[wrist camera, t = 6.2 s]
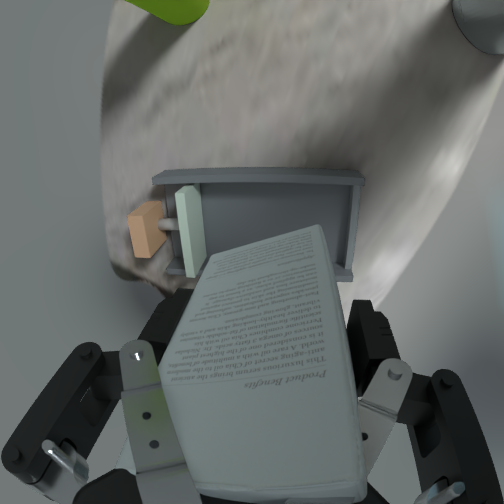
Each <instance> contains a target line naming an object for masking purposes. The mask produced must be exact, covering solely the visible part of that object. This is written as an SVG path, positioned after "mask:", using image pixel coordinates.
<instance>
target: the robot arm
mask: <svg viewBox="0 0 504 504" xmlns="http://www.w3.org/2000/svg"><path fill="white" fill-rule="evenodd" d="M452 7H453V13H454V17H455V19H456V22H457V24H458V26H459V28H460V29H461V31H462V32H463V34H464V35H465V37H466V38H467V39H468V40H469V41H470V42H471V43H472V44H473V45H474V46H475V47H477V48H478V49H479V50H481V51H483V52H485V53H487V54H491V55H497V54H504V0H453V2H452ZM193 291H194V289H184V288H178V289H177V290H176V292H175V294H174V296H173V297H172V298H166V299H164V300H163V301H162V302H161V303H159V304H158V306H157V307H156V309H155V311H154V313H153V314H152V316H151V318H150V319H149V320H148V322H147V324H146V326H145V327H144V329H143V330H142V332H141V334H140V336H139V337H138V339H137V340H133V341H130V342H128V343H126V344H125V345H124V346H122V348H121V349H120V351H109V352H102V350H101V348H100V346H99V345H98V344H96V343H93V342H86V343H83V344H80V345H79V346H77V347H76V348H75V349H74V350H73V351H72V353H71V354H70V355H69V356H68V358H67V359H66V360H65V362H64V363H63V364H62V365H61V367H60V368H59V369H58V371H57V372H56V374H55V375H54V376H53V377H52V379H51V380H50V381H49V383H48V384H47V385H46V387H45V388H44V389H43V391H42V392H41V393H40V395H39V396H38V398H37V399H36V400H35V402H34V403H33V405H32V406H31V407H30V409H29V410H28V412H27V413H26V415H25V416H24V418H23V419H22V420H21V422H20V423H19V425H18V426H17V428H16V429H15V431H14V432H13V434H12V435H11V437H10V438H9V440H8V442H7V443H6V445H5V446H4V448H3V450H2V455H1V459H2V463H3V465H4V467H5V468H6V469H7V470H8V471H9V472H10V473H12V474H13V475H14V476H16V477H17V478H18V479H19V480H20V481H21V482H23V483H24V484H25V485H27V486H29V487H30V488H31V489H33V490H35V491H36V492H38V493H39V494H42V495H44V496H45V497H47V498H49V499H50V500H52V501H56V502H58V503H59V504H256V503H247V502H240V501H233V500H227V499H221V498H216V497H210V496H206V495H203V494H201V493H199V491H198V490H197V488H196V486H195V484H194V481H193V479H192V476H191V473H190V471H189V468H188V465H187V462H186V460H185V457H184V454H183V451H182V448H181V445H180V442H179V439H178V436H177V433H176V430H175V427H174V424H173V421H172V417H171V414H170V411H169V407H168V404H167V400H166V397H165V393H164V390H163V386H162V382H161V378H160V374H159V370H158V366H159V364H160V362H161V359H162V357H163V355H164V353H165V351H166V349H167V346H168V344H169V342H170V340H171V338H172V335H173V333H174V331H175V329H176V327H177V325H178V323H179V321H180V319H181V317H182V314H183V312H184V310H185V308H186V306H187V304H188V302H189V300H190V298H191V296H192V294H193ZM346 331H347V336H348V341H349V347H350V352H351V358H352V364H353V370H354V376H355V382H356V389H357V396H358V397H362V399H361V400H359V402H358V410H359V418H360V426H361V433H362V438H363V449H364V459H365V470H366V478H367V476H368V475H369V473H370V471H371V470H372V468H373V466H374V464H375V462H376V461H377V459H378V457H379V455H380V453H381V451H382V449H383V447H384V445H385V443H386V441H387V439H388V437H389V435H390V433H391V431H392V429H393V427H394V425H395V422H398V423H403V424H406V425H407V429H408V432H409V436H410V440H411V445H412V449H413V453H414V457H415V461H416V466H417V471H418V476H419V481H420V486H421V491H422V493H421V494H420V495H419V496H418V497H417V498H416V500H415V502H414V504H504V501H503V497H502V492H501V489H500V485H499V481H498V478H497V474H496V471H495V467H494V464H493V461H492V458H491V455H490V452H489V449H488V446H487V443H486V440H485V437H484V435H483V432H482V430H481V427H480V424H479V422H478V419H477V416H476V414H475V412H474V409H473V407H472V404H471V402H470V400H469V397H468V395H467V393H466V391H465V388H464V386H463V384H462V382H461V379H460V378H459V376H458V375H457V374H456V373H454V372H453V371H451V370H447V369H440V370H437V371H436V372H435V373H434V374H433V375H432V377H429V376H424V375H419V374H416V373H413V372H412V369H411V367H410V366H409V365H408V364H407V363H406V362H404V361H402V360H401V358H400V355H399V352H398V349H397V346H396V342H395V340H394V336H393V334H392V330H391V329H390V325H389V322H388V319H387V318H386V317H385V316H384V315H383V314H382V313H381V312H376V311H374V309H373V306H372V303H371V301H370V300H353V302H352V306H351V311H350V315H349V319H348V324H347V329H346ZM87 390H88V391H87ZM85 393H86V394H85ZM83 396H84V397H83ZM82 398H83V399H82ZM81 399H82V400H81ZM120 399H122V405H123V410H124V416H125V422H126V427H127V432H128V437H129V442H130V447H131V451H132V455H133V460H134V464H135V468H136V475H134V474H132V473H130V472H129V471H128V470H126V469H124V468H118V469H113V470H111V471H109V472H108V473H106V474H104V475H102V476H101V477H99V478H97V479H95V480H93V481H91V482H89V483H87V480H88V478H89V476H88V473H89V467H88V463H87V462H86V459H87V457H88V456H89V454H90V452H91V450H92V448H93V446H94V444H95V443H96V441H97V439H98V437H99V435H100V433H101V432H102V430H103V428H104V426H105V424H106V422H107V421H108V419H109V417H110V415H111V413H112V412H113V410H114V408H115V406H116V405H117V403H118V401H119V400H120ZM80 401H81V402H80ZM156 446H159V447H158V448H156V449H154V448H155V447H156ZM354 499H355V497H323V498H291V497H290V498H289V499H288V500H287V501H286V502H285V503H284V504H389V503H388V502H387V501H386V500H385V499H384V498H383V497H382V496H381V495H380V494H379V493H378V492H377V491H376V490H375V489H374V488H373V487H372V486H371V485H370V484H369V483H368V482H367V495H366V497H365V498H364V499H363V500H362V501H360V502H356V503H353V501H354Z"/></svg>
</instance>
